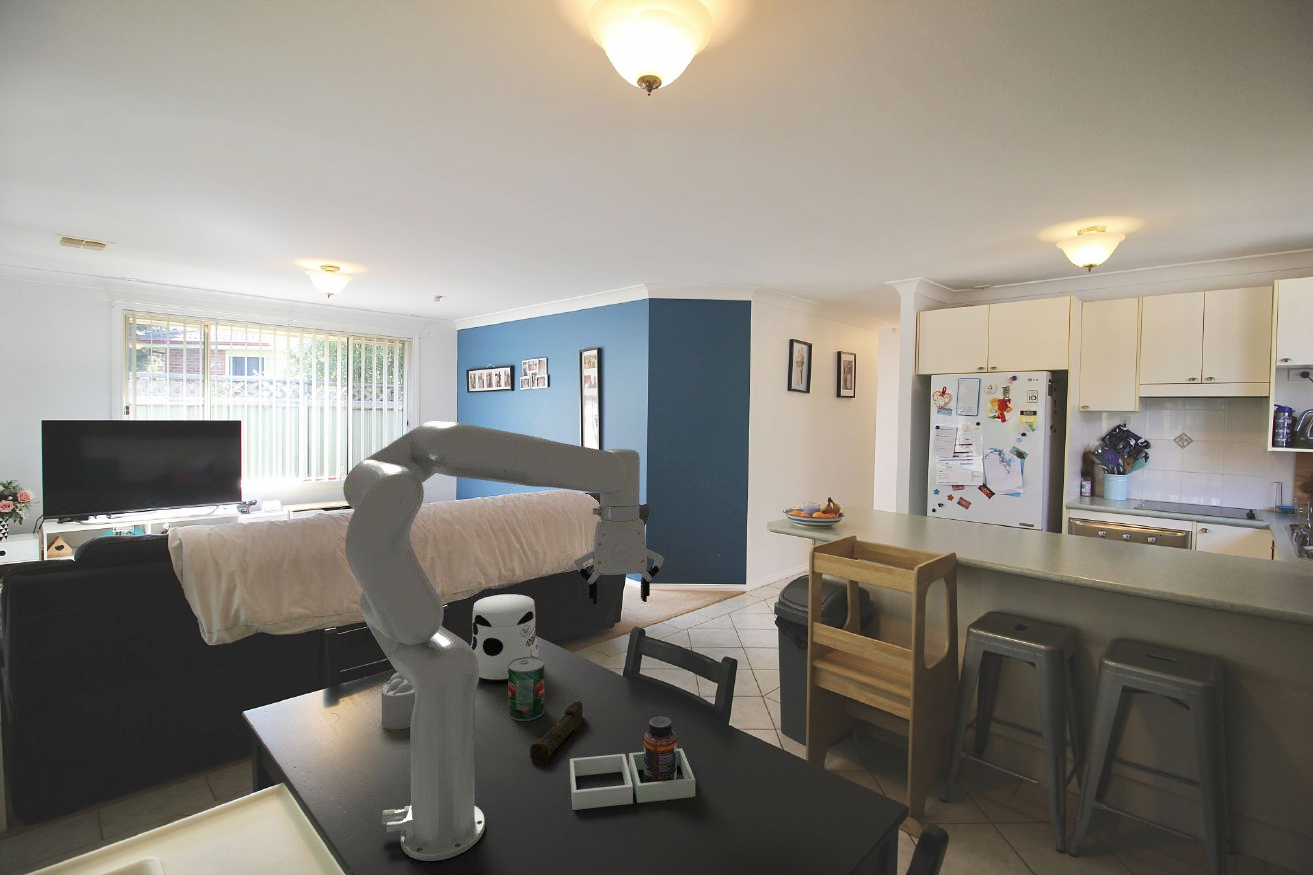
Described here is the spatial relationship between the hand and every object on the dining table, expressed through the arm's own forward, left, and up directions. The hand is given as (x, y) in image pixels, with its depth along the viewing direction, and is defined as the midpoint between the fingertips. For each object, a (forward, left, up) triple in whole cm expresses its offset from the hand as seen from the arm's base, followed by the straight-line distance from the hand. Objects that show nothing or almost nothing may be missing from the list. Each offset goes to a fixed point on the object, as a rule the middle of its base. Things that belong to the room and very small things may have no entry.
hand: (619, 601), depth 120 cm
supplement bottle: (+6, -10, -31) cm, 33 cm away
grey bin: (-5, -10, -30) cm, 32 cm away
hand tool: (-11, +8, -31) cm, 34 cm away
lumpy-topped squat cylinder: (-43, +23, -31) cm, 58 cm away
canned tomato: (-18, +20, -31) cm, 41 cm away
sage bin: (+6, -10, -30) cm, 33 cm away
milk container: (-24, +42, -31) cm, 57 cm away
